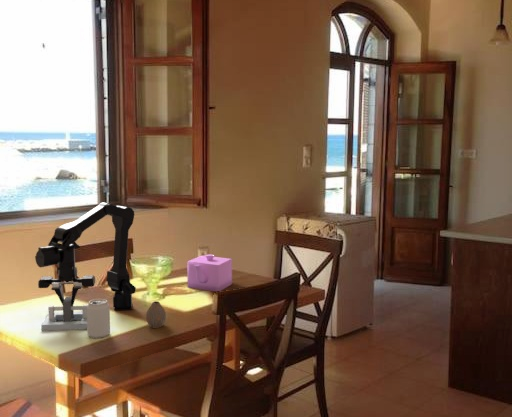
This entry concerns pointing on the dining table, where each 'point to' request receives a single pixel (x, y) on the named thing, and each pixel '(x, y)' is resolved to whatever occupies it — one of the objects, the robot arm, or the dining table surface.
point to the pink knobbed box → (209, 273)
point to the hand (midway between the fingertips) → (68, 305)
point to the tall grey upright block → (67, 309)
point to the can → (98, 318)
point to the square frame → (52, 317)
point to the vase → (156, 315)
